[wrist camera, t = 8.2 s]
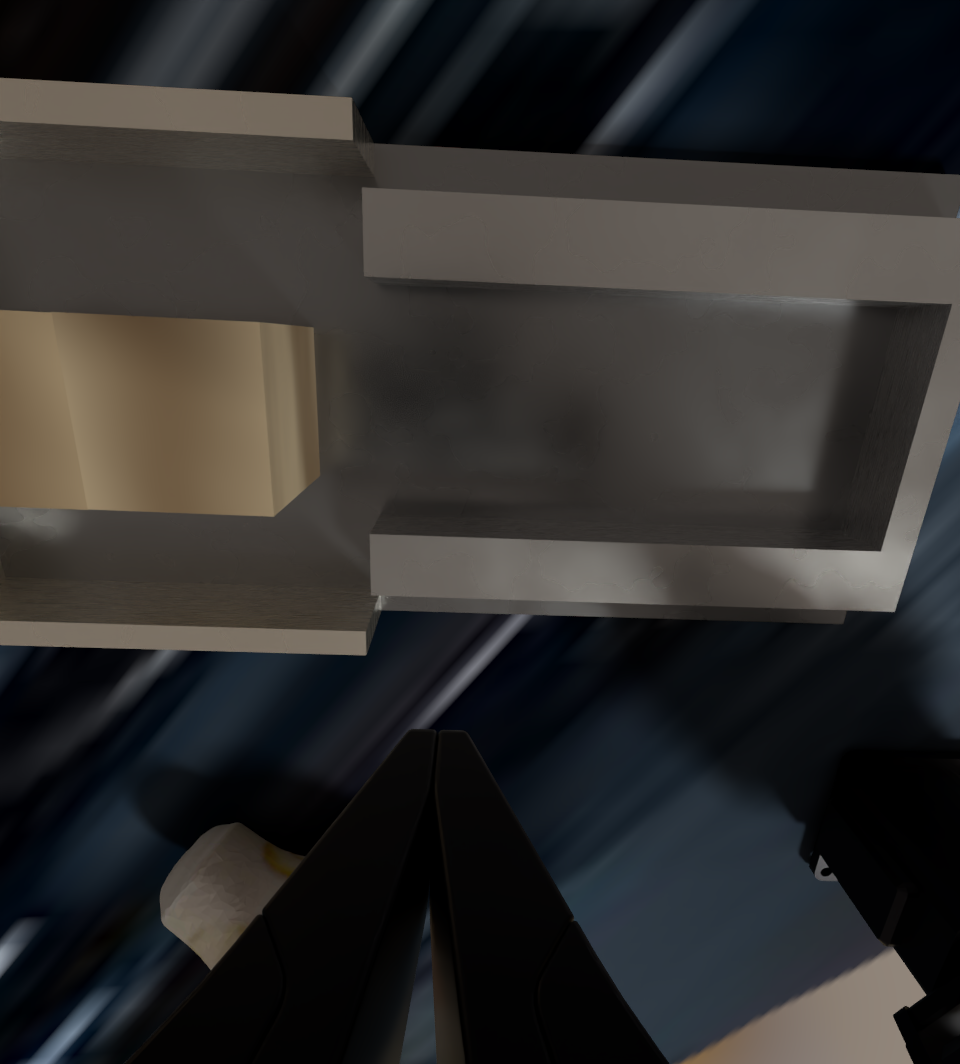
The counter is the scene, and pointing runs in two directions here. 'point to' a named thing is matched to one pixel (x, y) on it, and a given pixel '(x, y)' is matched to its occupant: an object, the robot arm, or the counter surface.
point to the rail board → (490, 371)
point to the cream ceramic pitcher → (222, 888)
